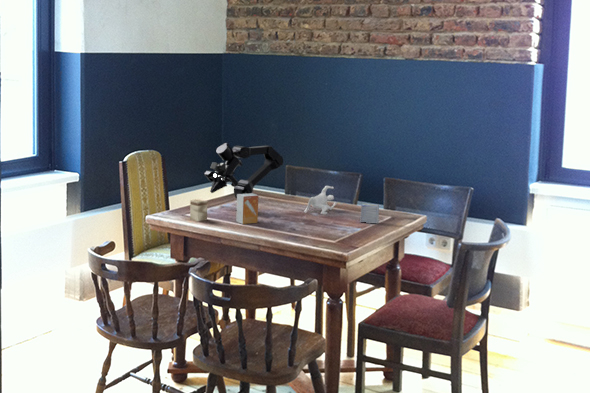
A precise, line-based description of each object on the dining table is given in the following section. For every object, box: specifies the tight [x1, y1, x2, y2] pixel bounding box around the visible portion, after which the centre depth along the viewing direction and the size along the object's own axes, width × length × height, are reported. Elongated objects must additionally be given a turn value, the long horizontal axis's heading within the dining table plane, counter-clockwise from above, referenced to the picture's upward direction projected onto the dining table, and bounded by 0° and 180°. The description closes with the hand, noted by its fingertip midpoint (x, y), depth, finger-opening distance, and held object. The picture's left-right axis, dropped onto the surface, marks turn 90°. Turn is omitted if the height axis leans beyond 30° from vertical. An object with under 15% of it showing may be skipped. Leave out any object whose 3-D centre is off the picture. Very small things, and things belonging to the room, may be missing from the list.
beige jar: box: [189, 198, 208, 222], centre depth 305 cm, size 6×6×9 cm
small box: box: [235, 192, 259, 225], centre depth 303 cm, size 8×6×13 cm
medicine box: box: [359, 203, 380, 224], centre depth 312 cm, size 8×4×9 cm, turn 71°
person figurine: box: [303, 185, 338, 216], centre depth 335 cm, size 13×13×18 cm
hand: (211, 192), depth 309 cm, fingers closed
